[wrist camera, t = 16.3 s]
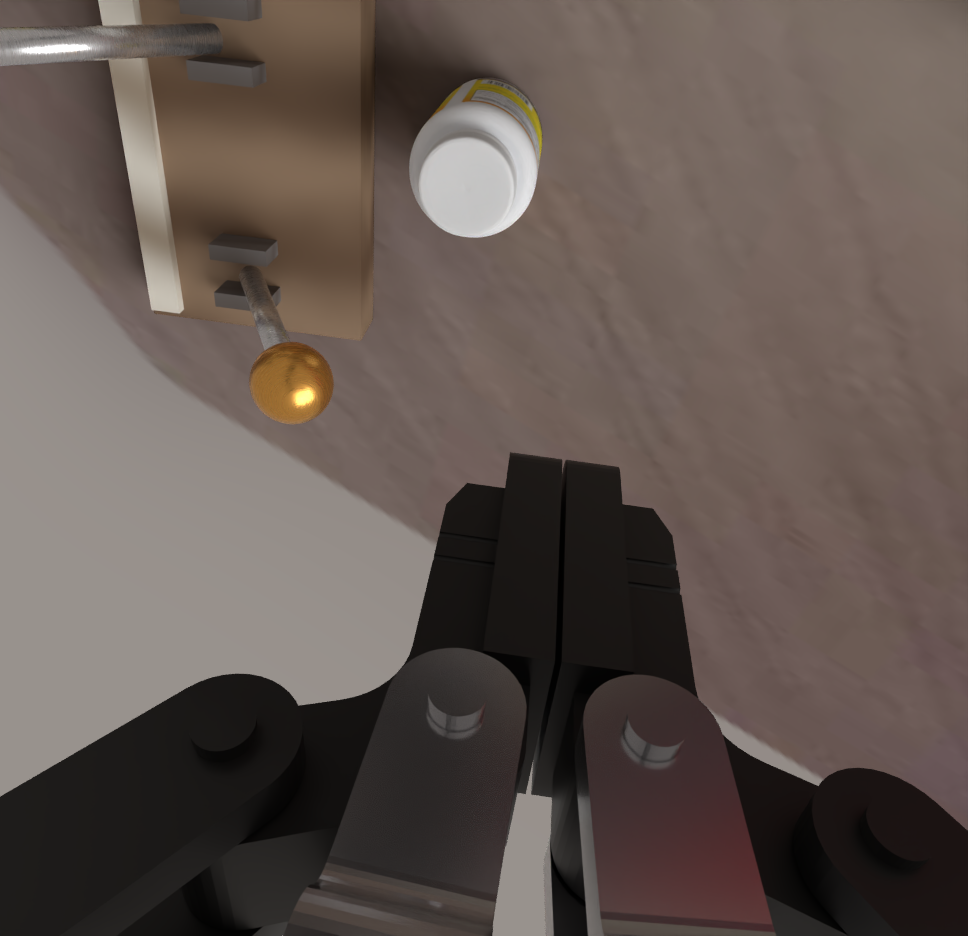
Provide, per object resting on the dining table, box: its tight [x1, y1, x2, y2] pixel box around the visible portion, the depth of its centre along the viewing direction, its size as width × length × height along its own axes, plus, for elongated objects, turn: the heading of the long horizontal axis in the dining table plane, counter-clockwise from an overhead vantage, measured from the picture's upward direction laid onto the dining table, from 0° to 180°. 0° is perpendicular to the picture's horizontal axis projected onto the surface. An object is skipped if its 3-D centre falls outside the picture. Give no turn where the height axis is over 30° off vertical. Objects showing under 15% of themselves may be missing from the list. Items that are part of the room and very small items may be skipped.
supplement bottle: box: [409, 78, 542, 237], centre depth 35 cm, size 6×6×10 cm
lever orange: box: [239, 265, 334, 424], centre depth 35 cm, size 3×3×14 cm
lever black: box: [0, 23, 223, 66], centre depth 29 cm, size 3×3×14 cm
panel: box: [98, 0, 375, 341], centre depth 36 cm, size 25×12×5 cm, turn 175°
